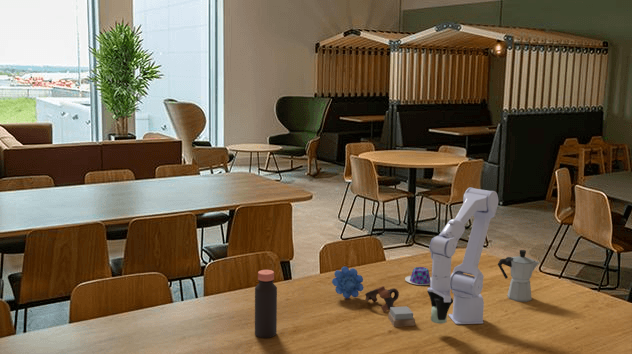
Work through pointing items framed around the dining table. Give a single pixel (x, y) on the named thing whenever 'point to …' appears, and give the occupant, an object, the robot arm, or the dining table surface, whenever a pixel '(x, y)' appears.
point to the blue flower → (348, 282)
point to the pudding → (419, 276)
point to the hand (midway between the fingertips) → (438, 316)
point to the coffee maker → (519, 276)
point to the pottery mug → (383, 296)
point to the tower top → (401, 313)
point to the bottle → (265, 305)
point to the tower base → (401, 321)
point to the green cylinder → (436, 316)
